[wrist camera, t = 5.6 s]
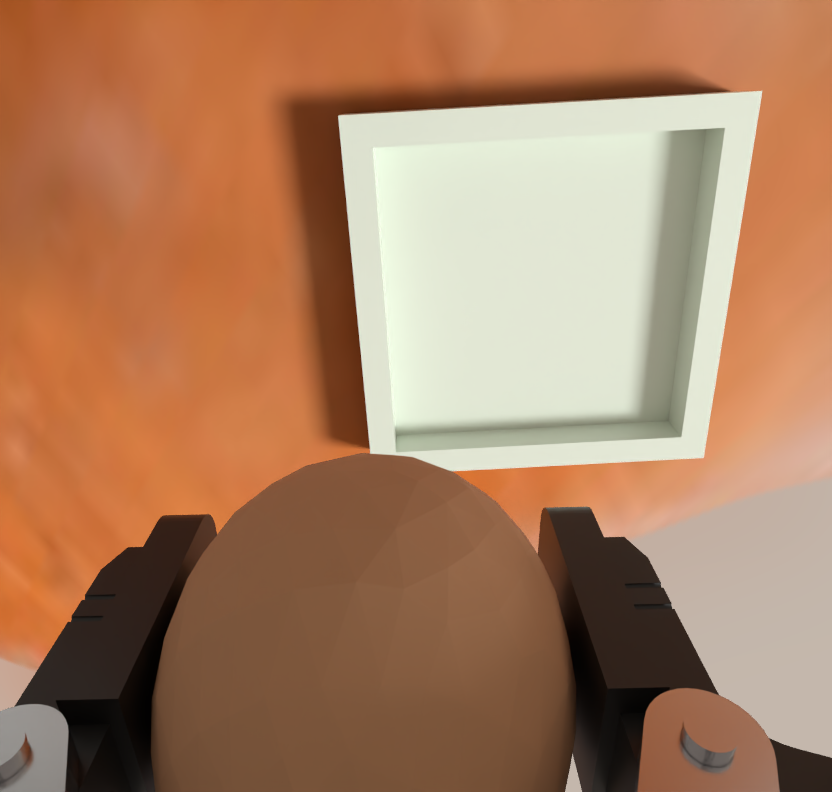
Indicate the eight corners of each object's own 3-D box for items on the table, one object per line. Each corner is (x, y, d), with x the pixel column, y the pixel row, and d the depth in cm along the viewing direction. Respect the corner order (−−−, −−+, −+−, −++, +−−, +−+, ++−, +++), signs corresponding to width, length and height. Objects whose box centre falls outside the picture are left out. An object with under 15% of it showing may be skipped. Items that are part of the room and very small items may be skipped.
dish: (343, 113, 22) (337, 115, 20) (732, 91, 22) (762, 91, 20) (374, 450, 27) (372, 475, 26) (683, 433, 27) (703, 457, 26)
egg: (166, 510, 12) (-116, 1013, 5) (387, 319, 10) (360, 702, 4) (371, 668, 13) (344, 1184, 7) (584, 526, 12) (788, 1018, 6)
